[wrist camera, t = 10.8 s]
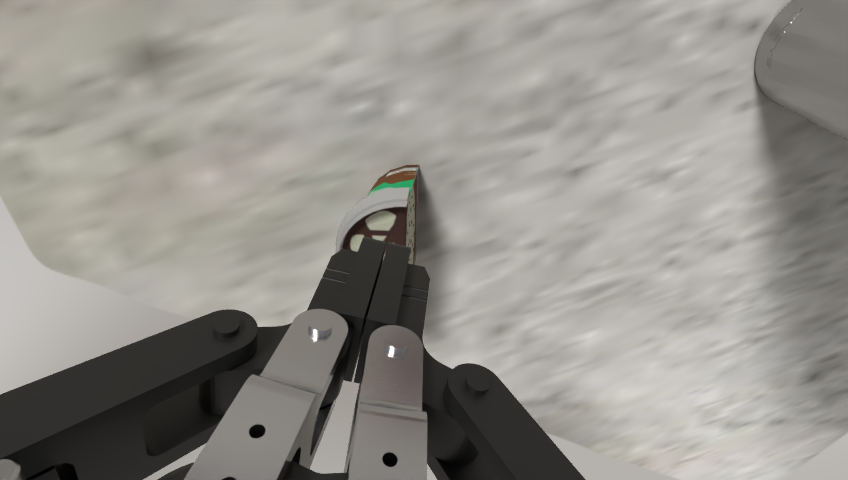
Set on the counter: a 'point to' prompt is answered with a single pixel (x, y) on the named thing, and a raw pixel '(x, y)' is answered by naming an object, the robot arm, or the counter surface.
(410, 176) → the food container
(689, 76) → the counter surface
